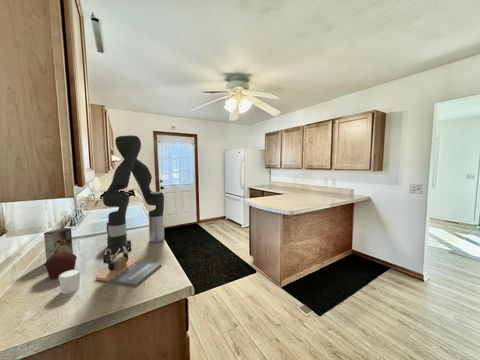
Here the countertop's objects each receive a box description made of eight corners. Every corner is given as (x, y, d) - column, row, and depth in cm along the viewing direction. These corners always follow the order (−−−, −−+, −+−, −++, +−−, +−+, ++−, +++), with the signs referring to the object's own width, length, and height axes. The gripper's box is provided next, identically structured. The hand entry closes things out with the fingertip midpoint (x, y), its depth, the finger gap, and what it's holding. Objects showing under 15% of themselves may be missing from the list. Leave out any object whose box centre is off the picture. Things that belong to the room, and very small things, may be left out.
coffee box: (64, 254, 113) (62, 227, 111) (73, 255, 111) (71, 228, 110) (45, 262, 104) (43, 232, 102) (55, 263, 102) (53, 233, 101)
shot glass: (64, 286, 84) (63, 270, 83) (83, 283, 86) (83, 267, 86) (55, 296, 77) (54, 279, 77) (77, 292, 80) (76, 276, 79)
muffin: (40, 277, 90) (38, 255, 90) (68, 265, 101) (67, 246, 100) (53, 283, 86) (52, 261, 85) (82, 271, 96) (81, 251, 95)
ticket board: (139, 262, 104) (139, 260, 104) (161, 265, 102) (161, 263, 101) (110, 282, 87) (110, 279, 87) (135, 286, 84) (135, 283, 84)
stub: (126, 260, 106) (126, 250, 106) (139, 262, 105) (138, 252, 104) (95, 279, 89) (95, 267, 88) (109, 281, 87) (109, 269, 87)
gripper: (122, 228, 103) (123, 258, 104) (97, 237, 89) (99, 272, 90) (135, 229, 101) (136, 260, 102) (111, 239, 87) (112, 274, 89)
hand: (118, 265), depth 96 cm, fingers open, 8 cm apart
